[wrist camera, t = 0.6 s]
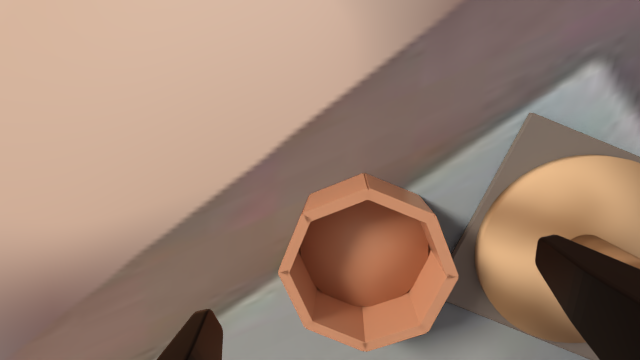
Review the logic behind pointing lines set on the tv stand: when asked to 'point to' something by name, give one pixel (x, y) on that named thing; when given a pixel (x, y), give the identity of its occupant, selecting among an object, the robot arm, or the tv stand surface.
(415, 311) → the terracotta bowl
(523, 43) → the tv stand surface
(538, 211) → the oak lid
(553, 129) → the rubber mat
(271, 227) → the tv stand surface
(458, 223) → the tv stand surface
